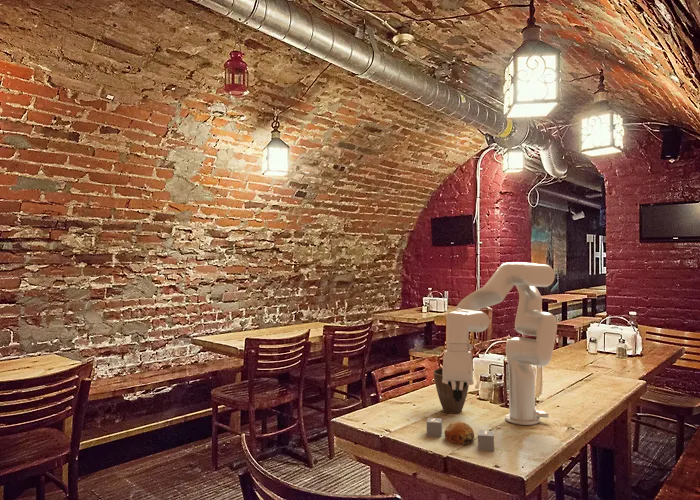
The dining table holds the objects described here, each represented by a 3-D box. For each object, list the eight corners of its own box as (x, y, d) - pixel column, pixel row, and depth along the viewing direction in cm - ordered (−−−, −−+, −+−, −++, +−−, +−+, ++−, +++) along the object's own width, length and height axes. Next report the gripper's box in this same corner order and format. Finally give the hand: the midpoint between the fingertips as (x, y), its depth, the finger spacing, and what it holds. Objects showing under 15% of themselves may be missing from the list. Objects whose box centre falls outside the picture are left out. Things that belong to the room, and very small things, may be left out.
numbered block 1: (494, 446, 177) (493, 430, 177) (494, 451, 172) (493, 435, 172) (478, 445, 178) (478, 429, 178) (478, 450, 173) (477, 434, 173)
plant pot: (471, 417, 208) (470, 376, 208) (433, 415, 211) (432, 375, 211) (470, 406, 223) (470, 368, 223) (434, 405, 226) (434, 367, 226)
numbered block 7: (442, 432, 191) (442, 418, 191) (441, 437, 186) (440, 422, 186) (428, 431, 192) (428, 417, 192) (426, 436, 187) (426, 421, 187)
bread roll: (471, 447, 186) (468, 423, 190) (478, 443, 177) (475, 418, 180) (443, 447, 186) (441, 424, 189) (449, 444, 177) (446, 419, 180)
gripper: (480, 346, 185) (480, 399, 184) (436, 345, 189) (437, 396, 188) (479, 350, 178) (479, 405, 177) (434, 348, 182) (434, 402, 181)
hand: (457, 400), depth 183 cm, fingers closed
